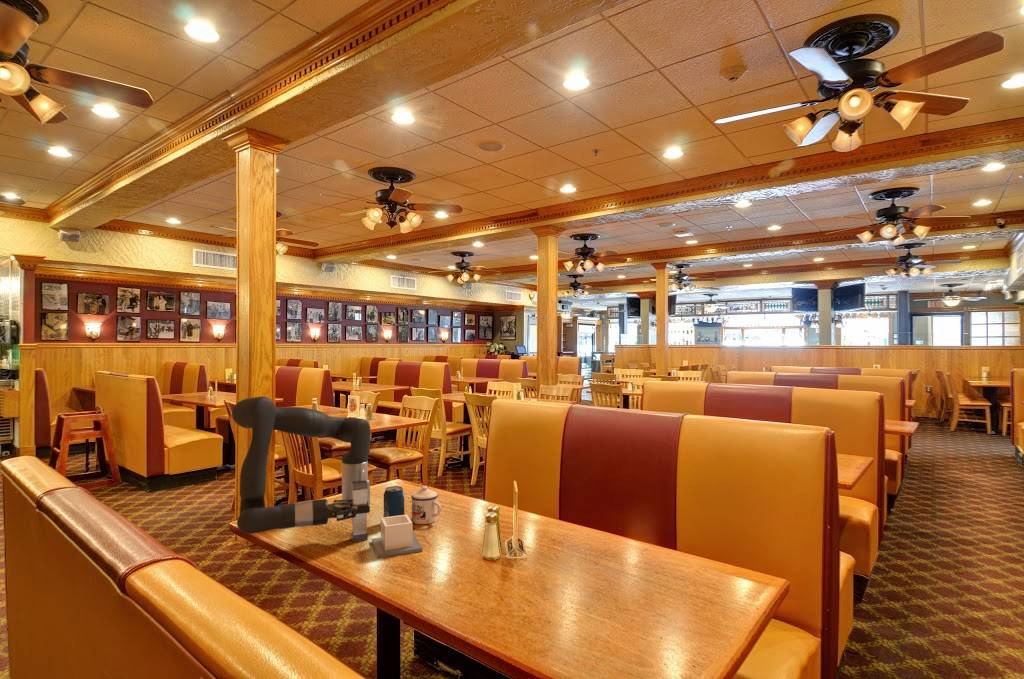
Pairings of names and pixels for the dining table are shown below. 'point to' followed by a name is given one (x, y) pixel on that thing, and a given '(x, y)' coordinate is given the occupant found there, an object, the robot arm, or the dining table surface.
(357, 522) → the white grey rectangular bar
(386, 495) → the soda can
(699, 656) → the dining table surface
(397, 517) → the white square socket
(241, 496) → the robot arm
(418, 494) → the teacup with lid
